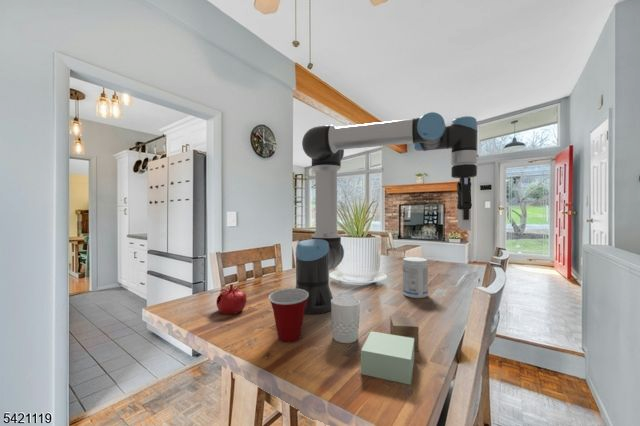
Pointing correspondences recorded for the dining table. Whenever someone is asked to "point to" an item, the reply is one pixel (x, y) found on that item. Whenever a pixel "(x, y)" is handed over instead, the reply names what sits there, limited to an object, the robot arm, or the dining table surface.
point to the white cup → (345, 318)
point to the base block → (388, 357)
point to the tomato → (231, 300)
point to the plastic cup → (289, 312)
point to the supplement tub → (415, 277)
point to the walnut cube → (405, 329)
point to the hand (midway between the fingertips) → (463, 229)
